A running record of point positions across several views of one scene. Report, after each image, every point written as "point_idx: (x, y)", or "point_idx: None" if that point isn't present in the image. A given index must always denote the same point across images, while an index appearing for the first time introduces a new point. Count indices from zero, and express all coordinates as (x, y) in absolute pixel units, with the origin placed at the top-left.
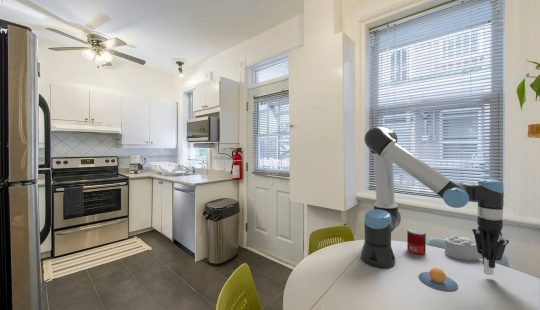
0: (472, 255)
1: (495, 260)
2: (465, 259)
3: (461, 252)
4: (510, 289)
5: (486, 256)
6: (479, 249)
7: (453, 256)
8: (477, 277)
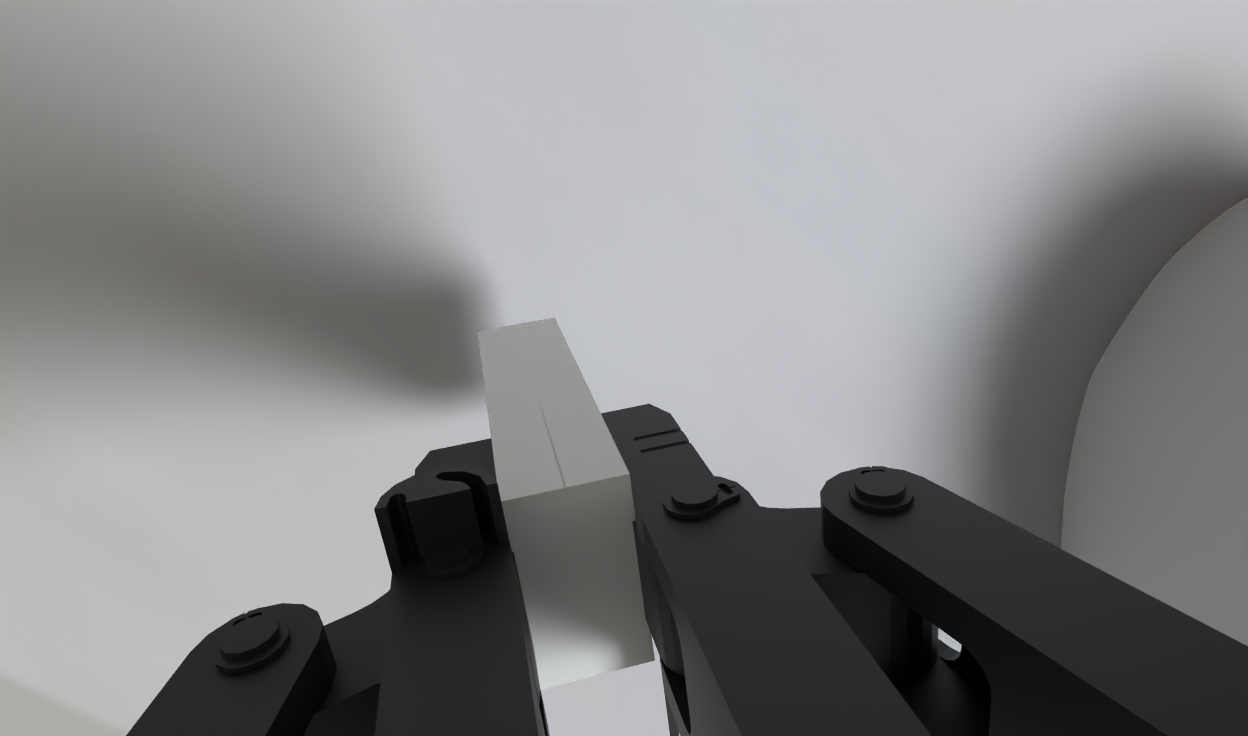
0: (1126, 542)
1: (203, 646)
2: (1090, 399)
3: (1233, 387)
4: (174, 468)
5: (647, 575)
6: (925, 566)
7: (1207, 249)
8: (533, 175)
